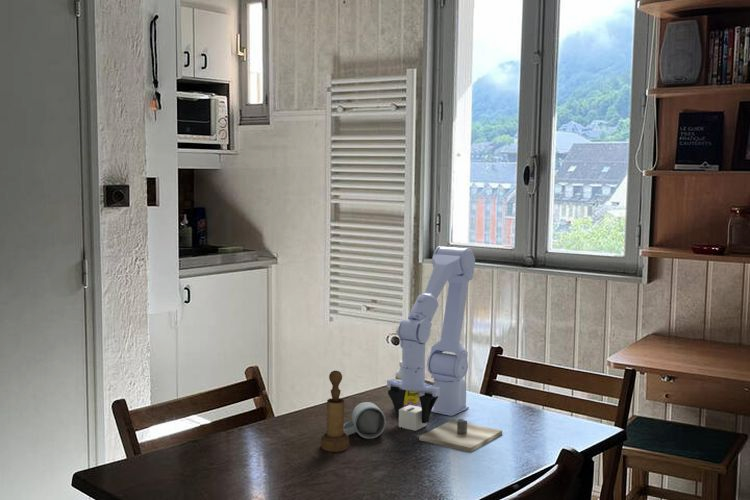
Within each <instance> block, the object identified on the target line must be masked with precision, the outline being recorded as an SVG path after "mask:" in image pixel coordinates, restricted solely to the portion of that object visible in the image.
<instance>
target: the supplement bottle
mask: <svg viewBox="0 0 750 500" xmlns="http://www.w3.org/2000/svg"><path fill="white" fill-rule="evenodd" d="M395 379H398V380H402V359H401V360H399V369H397V370H396V371H395ZM420 394H421V393H418V392H413V391H407V390H406V393H405V398H404V407H406V406H408V405H413V406H417V407H420Z"/></svg>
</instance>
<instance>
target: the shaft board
mask: <svg viewBox="0 0 750 500" xmlns="http://www.w3.org/2000/svg"><path fill="white" fill-rule="evenodd" d="M502 435H503V430H502V429H498V428H492V427H487V426H483V425H478V424H473V423H469V422H468V420H465V419H458V420H455V419H451V420H449V421H447V422H445V423H443V424H442V425H439V426H437V427H435V428H433V429H431V430H429V431H427V432H425V433H422V434H420V435H419V436H418V440H419V441H422V442H425V443H430V444H434V445H439V446H443V447H447V448H451V449H456V450H460V451H464V452H469V453H472V452H474V451H475V450H477V449H479V448H480V447H483V446H485V445H486V444H488V443H489V442H491V441H493V440H495V439H496V438H498V437H500V436H502Z"/></svg>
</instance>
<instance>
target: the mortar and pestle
mask: <svg viewBox="0 0 750 500" xmlns="http://www.w3.org/2000/svg"><path fill="white" fill-rule="evenodd" d="M328 380H329V382H330V384H331V385H332V386H331V387H332V388H331V389H330V396H331V397H330V398H328V399H327V400H326V402H327V403H326V407H327V408H326V433H324V434H323V435H322V436H321V437H320V447H321V449H322V450H324V451H326V452H336V453H337V452H342V451H343V452H344V451H346V450H348V449H349V447H350V437H349V435H346V434H345V433H343V432H344V424H345V423H344V422H345V421H344V420H345V399H343V398H340V395H341V391H342V390H341V389H340V388H339V386H340V384H341V382H342V380H343V374H342V372H341V371H339V370H332V371H331V372H330V373H329V374H328Z"/></svg>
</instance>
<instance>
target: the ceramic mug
mask: <svg viewBox="0 0 750 500" xmlns="http://www.w3.org/2000/svg"><path fill="white" fill-rule="evenodd" d="M386 424H387V421H386V416H385V414H384V412H383V411H382V410H381V409H380V407H378V406H377V405H376V404H375V403H373V402H369V401H365V402H361V403H357V405H355V407H354V409H353V410H352V414H351V420H349V421H347V422H345V423H344V432H343V433H345V434H346V435H347V436H350V435H352V434H356V433H357V434H358V435H359V436H360V437H361V438H364V439H367V440H368V439H371V440H372V439H375V438H378V437H379V436H380V435H381V434H383V432H384V431H385V428H386Z"/></svg>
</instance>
